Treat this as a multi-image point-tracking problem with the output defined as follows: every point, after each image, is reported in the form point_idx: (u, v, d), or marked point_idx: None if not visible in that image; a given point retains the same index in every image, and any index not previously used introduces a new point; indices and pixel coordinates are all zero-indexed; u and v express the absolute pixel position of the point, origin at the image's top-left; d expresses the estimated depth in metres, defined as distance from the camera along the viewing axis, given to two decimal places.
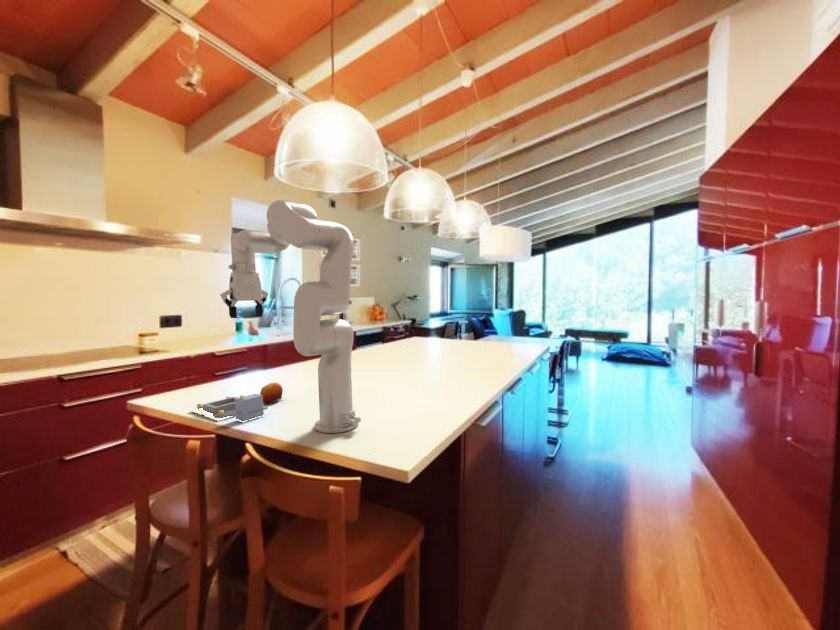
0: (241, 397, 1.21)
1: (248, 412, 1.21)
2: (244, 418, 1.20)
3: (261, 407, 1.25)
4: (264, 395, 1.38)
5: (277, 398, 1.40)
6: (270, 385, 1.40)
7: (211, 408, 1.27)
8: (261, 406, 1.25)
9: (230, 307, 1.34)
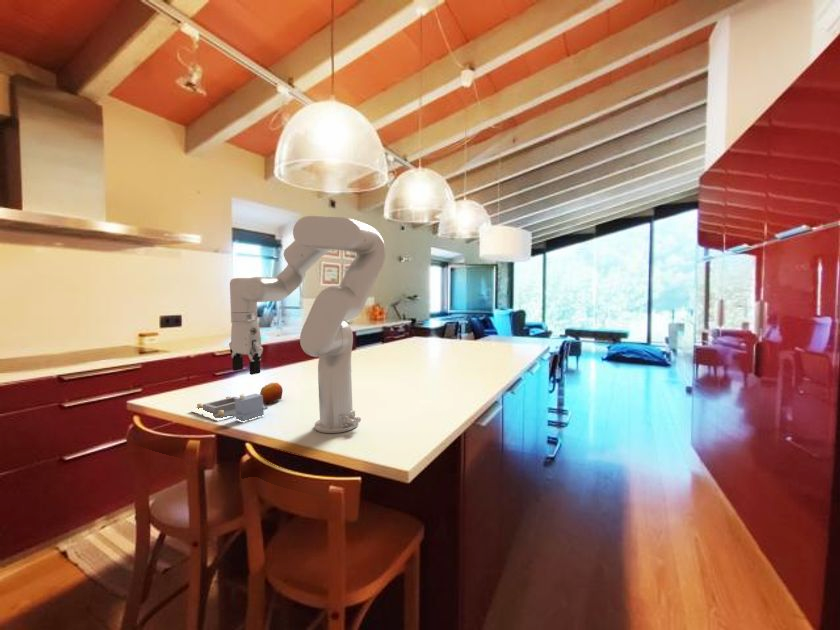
0: (241, 397, 1.21)
1: (248, 412, 1.21)
2: (244, 418, 1.20)
3: (261, 407, 1.25)
4: (264, 395, 1.38)
5: (277, 398, 1.40)
6: (270, 385, 1.40)
7: (211, 408, 1.27)
8: (261, 406, 1.25)
9: (257, 362, 1.20)
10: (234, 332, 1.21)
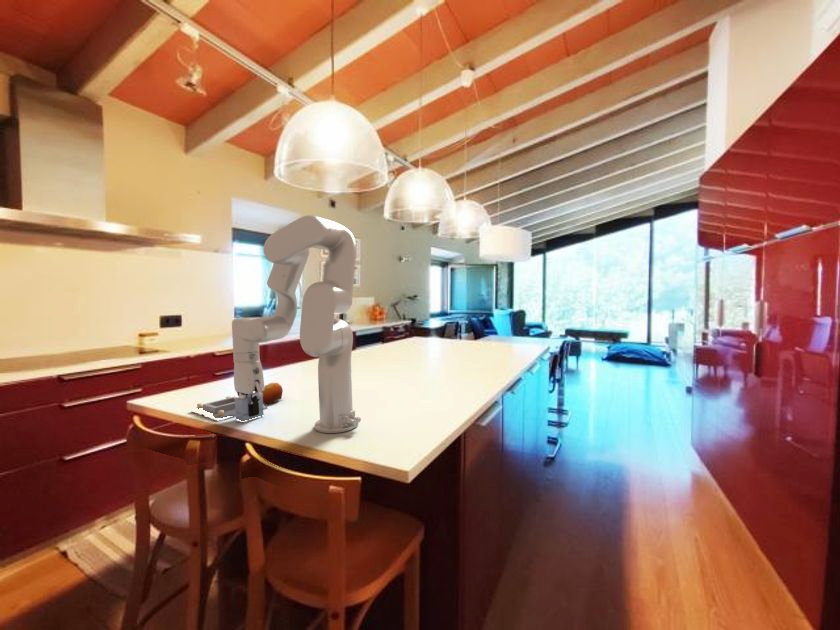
0: (241, 397, 1.21)
1: (248, 412, 1.21)
2: (244, 418, 1.20)
3: (261, 407, 1.25)
4: (265, 395, 1.38)
5: (277, 398, 1.40)
6: (270, 385, 1.40)
7: (211, 408, 1.27)
8: (261, 406, 1.25)
9: (255, 404, 1.22)
10: (237, 371, 1.22)
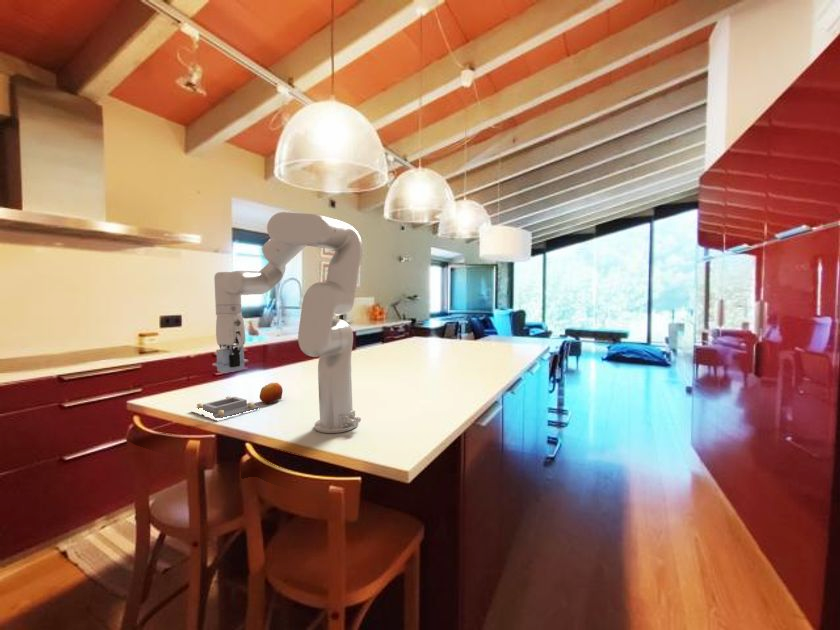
0: (222, 348, 1.25)
1: (229, 363, 1.26)
2: (225, 368, 1.25)
3: (242, 359, 1.29)
4: (264, 395, 1.38)
5: (277, 398, 1.40)
6: (270, 385, 1.40)
7: (211, 408, 1.27)
8: (242, 358, 1.29)
9: (236, 355, 1.26)
10: (219, 323, 1.26)
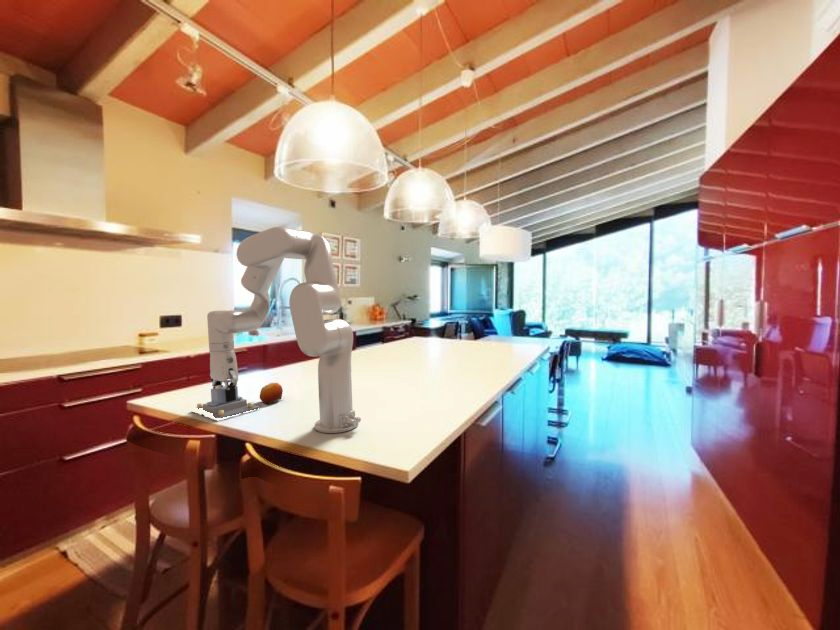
0: (216, 387, 1.30)
1: (223, 401, 1.30)
2: None
3: (236, 397, 1.33)
4: (265, 395, 1.38)
5: (277, 398, 1.40)
6: (270, 385, 1.40)
7: (211, 408, 1.27)
8: (236, 396, 1.33)
9: (232, 390, 1.30)
10: (213, 360, 1.30)
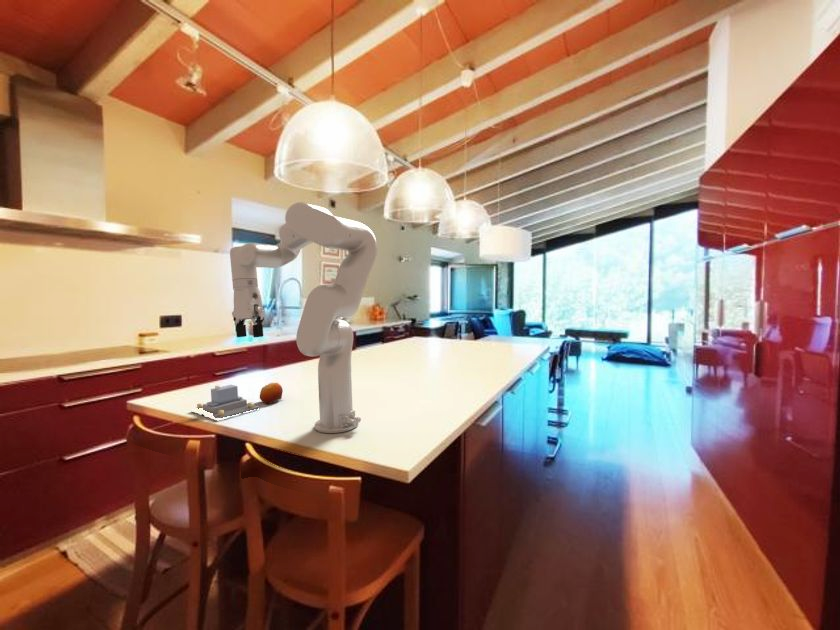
0: (216, 387, 1.30)
1: (223, 401, 1.30)
2: None
3: (236, 397, 1.33)
4: (265, 395, 1.38)
5: (277, 398, 1.40)
6: (270, 385, 1.40)
7: (211, 408, 1.27)
8: (236, 396, 1.33)
9: (259, 325, 1.25)
10: (237, 298, 1.27)
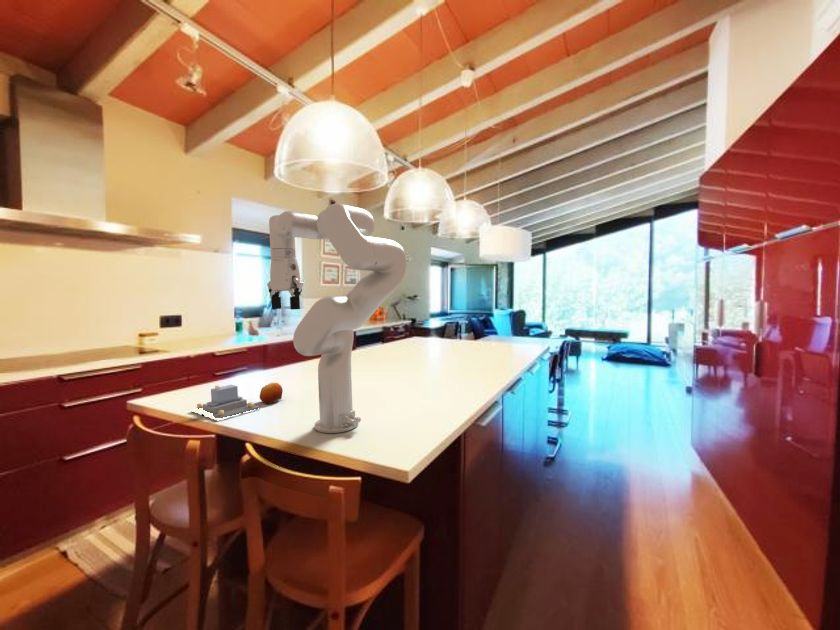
0: (216, 387, 1.30)
1: (223, 401, 1.30)
2: None
3: (236, 397, 1.33)
4: (264, 395, 1.38)
5: (277, 398, 1.40)
6: (270, 385, 1.40)
7: (211, 408, 1.27)
8: (236, 396, 1.33)
9: (297, 297, 1.22)
10: (274, 269, 1.24)
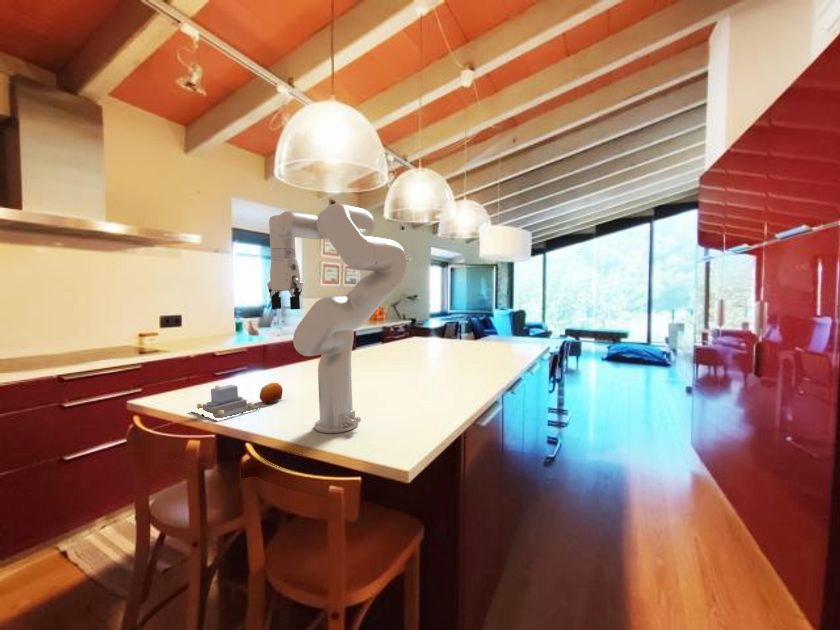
0: (216, 387, 1.30)
1: (223, 401, 1.30)
2: None
3: (236, 397, 1.33)
4: (264, 395, 1.38)
5: (277, 398, 1.40)
6: (270, 385, 1.40)
7: (211, 408, 1.27)
8: (236, 396, 1.33)
9: (297, 297, 1.22)
10: (274, 269, 1.24)
